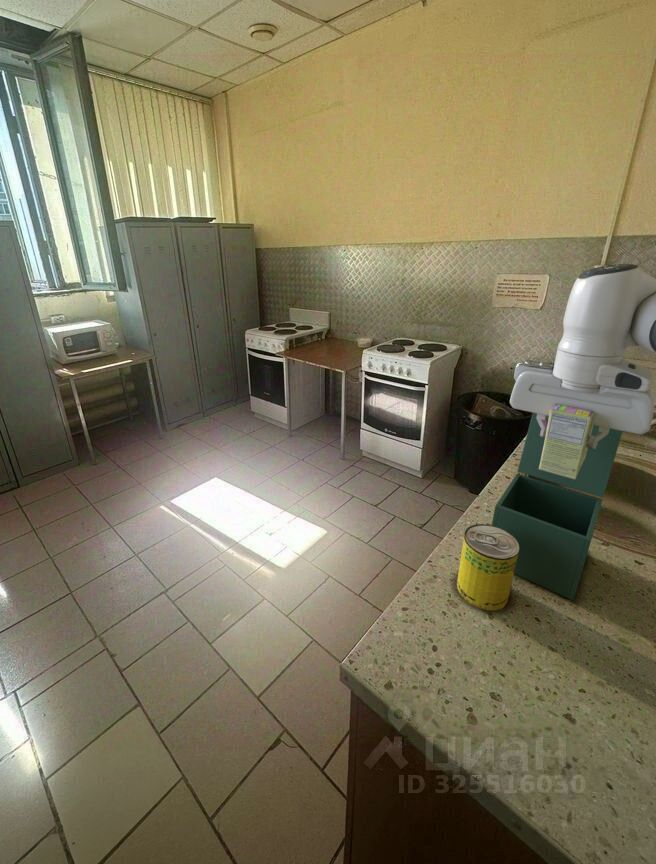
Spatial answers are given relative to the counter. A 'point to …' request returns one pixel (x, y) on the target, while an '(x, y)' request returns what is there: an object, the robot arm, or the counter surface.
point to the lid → (592, 469)
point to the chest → (548, 531)
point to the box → (566, 440)
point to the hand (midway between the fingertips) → (567, 441)
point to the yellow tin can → (487, 566)
